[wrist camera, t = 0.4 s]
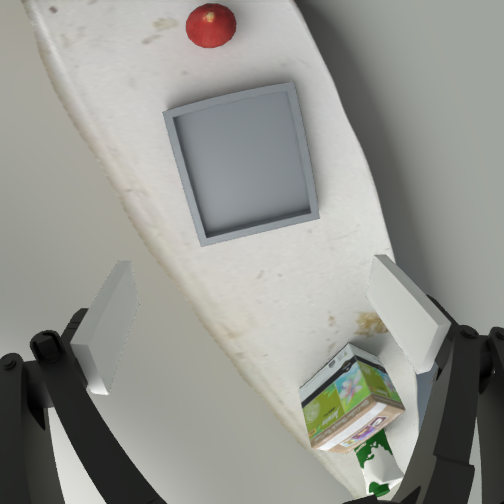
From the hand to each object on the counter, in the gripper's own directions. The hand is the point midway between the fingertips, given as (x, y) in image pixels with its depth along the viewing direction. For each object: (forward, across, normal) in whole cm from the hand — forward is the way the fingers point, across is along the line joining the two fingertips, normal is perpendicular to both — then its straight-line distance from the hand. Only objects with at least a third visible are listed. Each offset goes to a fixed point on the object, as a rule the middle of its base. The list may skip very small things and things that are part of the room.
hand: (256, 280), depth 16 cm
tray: (+26, +1, +2) cm, 26 cm away
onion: (+26, -3, +20) cm, 33 cm away
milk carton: (+25, +35, -66) cm, 79 cm away
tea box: (+26, +20, -37) cm, 49 cm away
